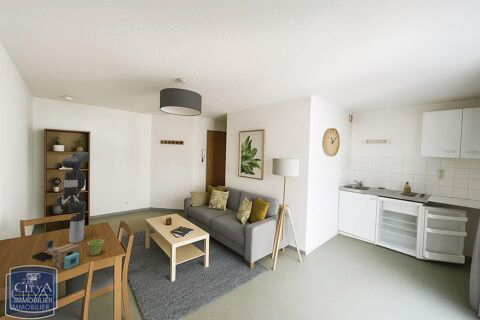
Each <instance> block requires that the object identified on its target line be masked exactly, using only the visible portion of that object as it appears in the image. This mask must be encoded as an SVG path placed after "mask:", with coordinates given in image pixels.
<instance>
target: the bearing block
mask: <svg viewBox="0 0 480 320" xmlns="http://www.w3.org/2000/svg"><path fill="white" fill-rule="evenodd" d="M79 246H80V245H78V244H74V243H70V242H69V243H67V244H65V245H63V246H59V247H57V248H55V249H53V252H52V262H51V263H52V265H51V267H52V266H53V268H55V267H56V269H58V270H62V269H64V257H66V256H69V255H71V254H74V253H79ZM67 253H69V255H67ZM71 262H73V259H71V260H70V263H71Z"/></svg>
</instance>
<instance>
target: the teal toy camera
mask: <svg viewBox="0 0 480 320" xmlns="http://www.w3.org/2000/svg"><path fill="white" fill-rule="evenodd" d="M71 259H73V262H71V263H70V260H71ZM79 264H80V253H79V252H78V253H74V254H71V255H69V256H66V257H64V268H63V270H69V269H71V268H73V267H75V266H78V265H79Z"/></svg>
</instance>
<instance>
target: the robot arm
mask: <svg viewBox="0 0 480 320" xmlns="http://www.w3.org/2000/svg"><path fill="white" fill-rule="evenodd" d="M89 161H90V153H89V152H87V151H77V150H76V151H73V153H72V157H66V158H64V159H63V160H62V161H61V165H62V167H64V168H65V169H71V170H70V171H65V173H64V181H63V190H62V191H63V192H62V193H63V194H62V195H61V194H58V195H57V199H56V204H57V205H59V209H60V210H61V211H64V210H65V203H66V202H67V201H69V204H68V212H69V213H73V214H74V213H78V214H76V215H74V216H73V215H72V216H71V217H70V223H69V231H68V232H69V233H68V234H69V235H68V242H69V244H70V243H72V244H74V243H79V242H82V241H84V237H85V220H86V219H85V217H86V216H85V215H86V207H87V202H86V201H85V200H83V193H82V192H81V191H82V190H83V189H84V187H85V186H86V176H85V174H84V173H83V172H82V170H81V166H82V164H83V163H88V162H89Z"/></svg>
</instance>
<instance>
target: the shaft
mask: <svg viewBox="0 0 480 320" xmlns="http://www.w3.org/2000/svg"><path fill="white" fill-rule="evenodd" d="M53 244H54V240H52V239H48V240H45V243H44V246H45V247H44V250H45V251H47V252H50V253H53V249H55V248H58V247H57V246H53ZM67 255H69V253H67Z"/></svg>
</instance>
